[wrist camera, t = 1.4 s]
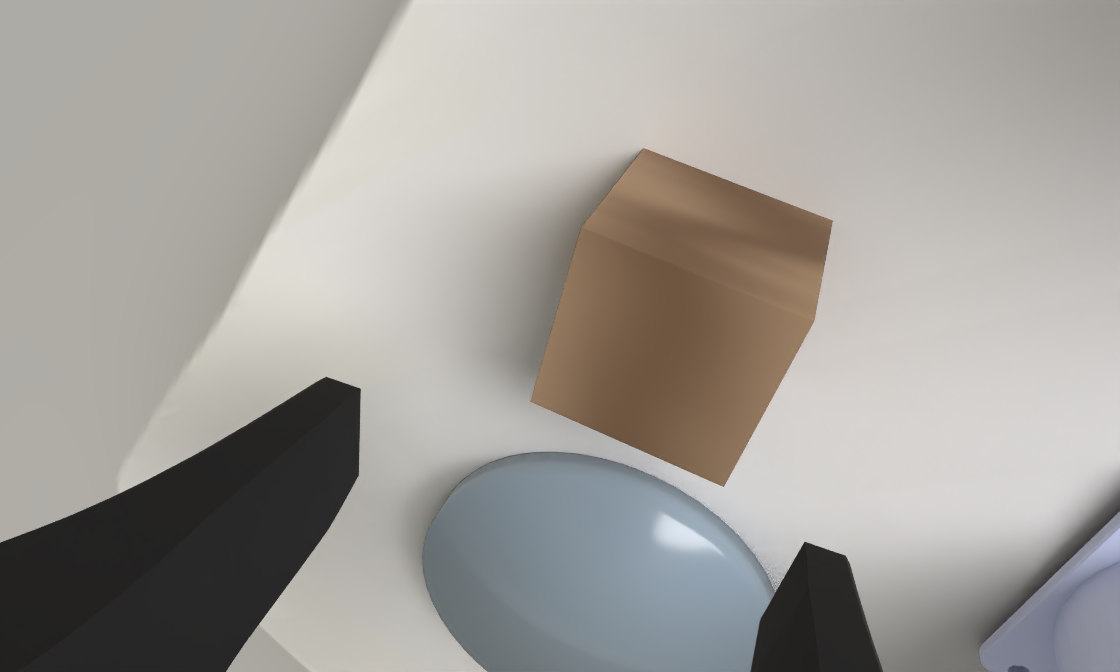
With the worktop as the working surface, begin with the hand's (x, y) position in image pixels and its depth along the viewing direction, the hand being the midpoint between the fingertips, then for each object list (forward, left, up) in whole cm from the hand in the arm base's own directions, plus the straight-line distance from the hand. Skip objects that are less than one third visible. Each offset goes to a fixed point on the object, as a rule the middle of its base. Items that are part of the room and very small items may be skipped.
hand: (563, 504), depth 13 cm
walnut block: (0, 0, -9) cm, 9 cm away
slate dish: (-1, +13, -9) cm, 16 cm away
